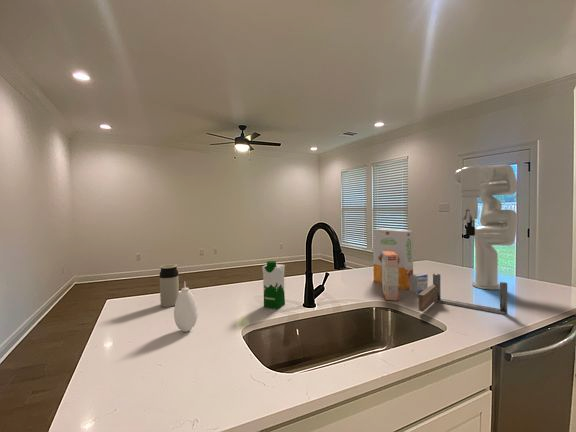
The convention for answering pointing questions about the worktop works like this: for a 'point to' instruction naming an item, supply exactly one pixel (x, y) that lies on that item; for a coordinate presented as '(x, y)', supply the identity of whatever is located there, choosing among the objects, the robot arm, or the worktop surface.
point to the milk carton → (273, 284)
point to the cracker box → (390, 275)
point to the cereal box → (401, 246)
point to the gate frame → (495, 310)
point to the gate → (427, 297)
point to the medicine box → (418, 283)
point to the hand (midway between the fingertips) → (470, 235)
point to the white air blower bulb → (185, 310)
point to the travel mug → (169, 285)
